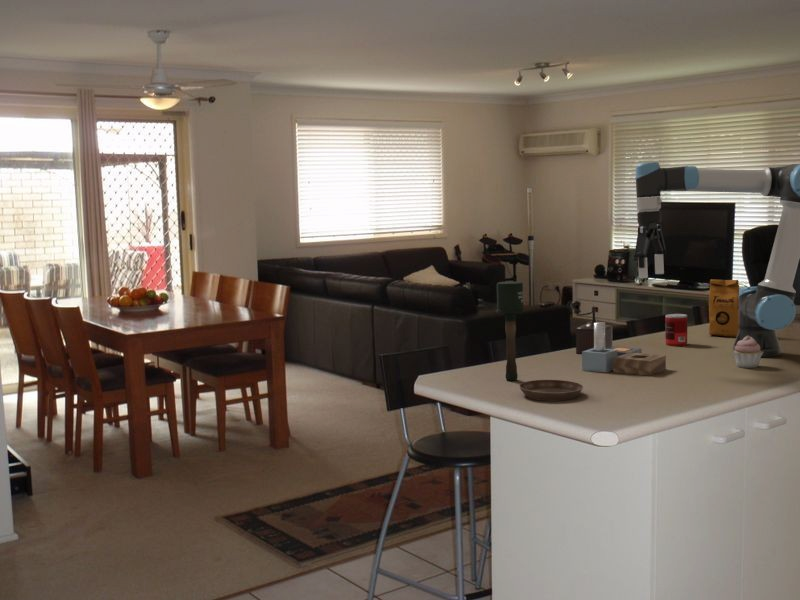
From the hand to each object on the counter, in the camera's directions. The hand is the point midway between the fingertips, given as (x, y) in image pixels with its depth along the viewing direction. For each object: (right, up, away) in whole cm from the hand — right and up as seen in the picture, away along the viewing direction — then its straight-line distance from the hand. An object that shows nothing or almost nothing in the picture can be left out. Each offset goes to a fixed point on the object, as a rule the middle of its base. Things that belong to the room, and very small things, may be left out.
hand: (651, 276), depth 291 cm
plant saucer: (-40, -35, -41) cm, 67 cm away
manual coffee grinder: (-15, -27, +29) cm, 42 cm away
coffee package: (+44, -22, +56) cm, 75 cm away
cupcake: (+28, -29, -9) cm, 41 cm away
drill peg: (-18, -30, -5) cm, 35 cm away
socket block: (-7, -30, -10) cm, 32 cm away
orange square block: (-9, -28, +4) cm, 29 cm away
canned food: (+20, -25, +38) cm, 50 cm away
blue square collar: (-18, -30, -5) cm, 35 cm away
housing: (-9, -29, +5) cm, 30 cm away
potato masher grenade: (-48, -33, -18) cm, 61 cm away
